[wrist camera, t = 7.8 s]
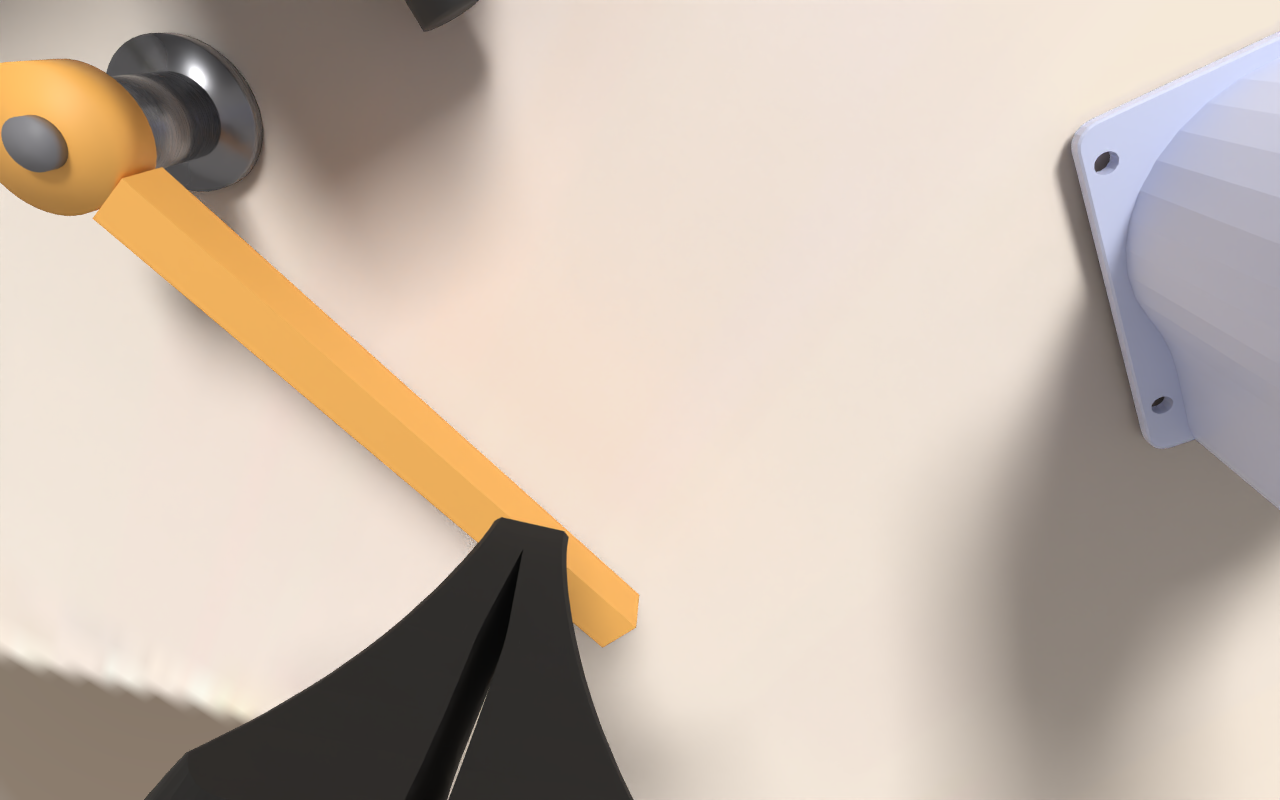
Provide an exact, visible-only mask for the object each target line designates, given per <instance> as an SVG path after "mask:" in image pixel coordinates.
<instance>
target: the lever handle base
mask: <svg viewBox="0 0 1280 800" xmlns="http://www.w3.org/2000/svg"><path fill="white" fill-rule="evenodd" d="M106 74H108V75H109V76H111V77H112V78H114V79H115V80H116V81H117V82H118V83H120V84H121V85H122V86H123V87H124V88H125V89H126V90H127V91H128V92H129V93H130V95H131V96H132V97H133V98H134V99H135V101H136V102H137V103H138V105H139V106H140V108H141V109H142V111H143V113H144V114H145V116H146V118H147V120H148V122H149V125H150V127H151V129H152V133H153V136H154V139H155V144H156V153H157V160H156V168H155V169H157V168H161V167H163V168H164V169H165V170H166V171H167V172H168V173H169V174H170V175H172V176H173V177H174V178H175V179H176V180H177V181H178V182H179V183H180V184H182V185H183V186H184V187H185V188H186V189H187V190H191V191H212V190H217V189H220V188H223V187H226V186H229V185H232V184H234V183H236V182H238V181H240V180H241V179H242V178H244V177H245V176H246V175H247V174H248V173H249V172H250V171H251V170H252V168H253V167H254V165H255V163H256V161H257V159H258V157H259V154H260V150H261V146H262V122H261V116H260V112H259V108H258V105H257V103H256V100H255V98H254V95H253V93H252V91H251V89H250V87H249V86H248V84H247V83H246V81H245V79H244V78H243V77H242V75H241V74H240V73H239V71H238V70H237V69H236V68H235V67H234V66H233V65H232V63H231V62H230V61H229V60H228V59H226V58H225V57H224V56H223V55H222V54H221V53H219V52H218V51H217V50H215V49H214V48H212V47H211V46H209V45H207V44H206V43H204V42H202V41H200V40H198V39H195V38H192V37H190V36H186V35H182V34H176V33H149V34H144V35H140V36H137V37H135V38H132V39H131V40H129V41H127V42H126V43H124V44H123V45H122V46H121V47H120V48H119V49H118V50H117V51H116V53H115V54H114V55H113V57H112V59H111V61H110V63H109V66H108V69H107V73H106Z"/></svg>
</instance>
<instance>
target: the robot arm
mask: <svg viewBox="0 0 1280 800" xmlns="http://www.w3.org/2000/svg"><path fill="white" fill-rule="evenodd" d="M1071 149H1072V155H1073V159H1074V163H1075V167H1076V171H1077V175H1078V179H1079V183H1080V187H1081V191H1082V195H1083V199H1084V203H1085V207H1086V211H1087V215H1088V219H1089V223H1090V227H1091V231H1092V235H1093V239H1094V243H1095V247H1096V251H1097V255H1098V259H1099V263H1100V267H1101V271H1102V275H1103V279H1104V283H1105V287H1106V291H1107V295H1108V299H1109V303H1110V307H1111V311H1112V315H1113V319H1114V323H1115V327H1116V331H1117V335H1118V339H1119V343H1120V347H1121V352H1122V356H1123V360H1124V364H1125V368H1126V372H1127V376H1128V380H1129V384H1130V388H1131V392H1132V396H1133V400H1134V404H1135V408H1136V412H1137V416H1138V420H1139V424H1140V428H1141V432H1142V435H1143V437H1144V438H1145V440H1146V441H1147V442H1148V443H1149V444H1151V445H1152V446H1154V447H1155V448H1161V449H1165V448H1170V447H1174V446H1177V445H1180V444H1183V443H1185V442H1188V441H1191V440H1194V439H1196V440H1197V441H1198V442H1199V443H1200V444H1202V445H1203V446H1204V447H1205V448H1206V449H1208V450H1209V451H1210V452H1211V453H1212V454H1214V455H1215V456H1216V457H1217V458H1218V459H1220V460H1221V461H1222V462H1223V463H1224V464H1225V465H1227V466H1228V467H1229V468H1230V469H1231V470H1233V471H1234V472H1235V473H1236V474H1237V475H1239V476H1240V477H1241V478H1242V479H1243V480H1245V481H1246V482H1247V483H1248V484H1249V485H1250V486H1252V487H1253V488H1254V489H1255V490H1256V491H1258V492H1259V493H1260V494H1261V495H1262V496H1264V497H1265V498H1266V499H1267V500H1268V501H1270V502H1271V503H1272V504H1273V505H1274V506H1275V507H1277V508H1278V509H1279V510H1280V31H1279V32H1277V33H1275V34H1272V35H1270V36H1268V37H1266V38H1264V39H1262V40H1260V41H1257V42H1255V43H1253V44H1251V45H1249V46H1247V47H1245V48H1242V49H1240V50H1238V51H1236V52H1234V53H1232V54H1230V55H1228V56H1225V57H1223V58H1221V59H1219V60H1217V61H1215V62H1213V63H1210V64H1208V65H1206V66H1204V67H1202V68H1200V69H1198V70H1195V71H1193V72H1191V73H1189V74H1187V75H1185V76H1183V77H1180V78H1178V79H1176V80H1174V81H1172V82H1170V83H1168V84H1165V85H1163V86H1161V87H1159V88H1157V89H1155V90H1153V91H1150V92H1148V93H1146V94H1144V95H1142V96H1140V97H1138V98H1136V99H1133V100H1131V101H1129V102H1127V103H1125V104H1123V105H1121V106H1118V107H1116V108H1114V109H1112V110H1110V111H1108V112H1106V113H1103V114H1101V115H1099V116H1097V117H1095V118H1093V119H1091V120H1089V121H1087V122H1086V123H1084V124H1083V125H1081V126H1080V128H1079V129H1078V130H1077V131H1076V133H1075V134H1074V137H1073V139H1072V142H1071ZM1104 152H1109V154H1110V161H1109V163H1108V164H1107V166H1106V167H1105V168H1104V169H1102V170H1101V171H1097V172H1096V171H1095V169H1094V163H1095V161H1096V159H1097V158H1098V156H1100V155H1101V154H1103V153H1104ZM1160 397H1164V399H1163V401H1162V402H1161V403H1160V404H1158V405H1157V406H1153V407H1152V404H1153V402H1154V401H1155V400H1156V399H1158V398H1160ZM568 539H569V537H568V535H567V534H566V533H565V531H561V530H557V529H553V528H548V527H544V526H539V525H535V524H530V523H526V522H521V521H517V520H513V519H508V518H504V517H501V518H499V519H497V520H495V521H494V522H493V524H492V525H491V527H490V528H489V530H488V531H487V532H486V534H485V535H484V536H483V538H482V539H481V540H480V541H479V543H478V544H477V545H476V546H475V547H474V549H473V550H472V551H471V552H470V553H469V554H468V555H467V556H466V558H465V559H464V560H463V561H462V562H461V563H460V564H459V565H458V566H457V567H456V568H455V569H454V570H453V572H452V573H451V574H450V575H449V576H448V577H447V578H446V579H445V580H444V581H443V582H442V583H441V584H440V585H439V586H438V587H437V588H436V589H435V590H434V591H433V592H432V593H431V594H430V595H428V596H427V597H426V598H425V599H424V600H423V601H422V602H421V603H420V604H419V605H418V606H416V607H415V608H414V609H413V610H412V611H411V612H410V613H409V614H408V615H407V616H405V617H404V618H403V619H402V620H401V621H400V622H398V623H397V624H396V625H395V626H394V627H392V628H391V629H390V630H389V631H388V632H386V633H385V634H384V635H383V636H381V637H380V638H379V639H377V640H376V641H375V642H374V643H372V644H371V645H370V646H368V647H367V648H366V649H364V650H363V651H362V652H360V653H359V654H357V655H356V656H355V657H353V658H352V659H350V660H349V661H347V662H346V663H345V664H343V665H342V666H340V667H339V668H337V669H336V670H335V671H333V672H332V673H330V674H329V675H327V676H326V677H324V678H323V679H321V680H320V681H318V682H316V683H315V684H313V685H312V686H310V687H308V688H307V689H305V690H303V691H302V692H300V693H298V694H296V695H295V696H293V697H291V698H290V699H288V700H286V701H285V702H283V703H281V704H279V705H278V706H276V707H274V708H273V709H271V710H269V711H268V712H266V713H264V714H262V715H260V716H259V717H257V718H255V719H253V720H251V721H249V722H247V723H245V724H243V725H241V726H240V727H237V728H235V729H233V730H231V731H229V732H227V733H225V734H223V735H221V736H219V737H217V738H215V739H213V740H211V741H209V742H208V743H206V744H203V745H201V746H199V747H197V748H195V749H193V750H191V751H189V752H187V753H185V755H184V756H183V757H182V758H181V759H180V760H179V761H178V762H177V763H176V764H175V765H174V766H173V767H172V768H171V769H170V771H169V772H168V773H167V774H166V775H165V776H164V777H163V778H162V780H161V781H160V782H159V783H158V784H157V786H156V787H155V788H154V789H153V790H152V791H151V792H150V793H149V794H148V796H147V797H146V798H145V799H144V800H447V798H448V795H449V792H450V788H451V785H452V782H453V779H454V776H455V774H456V771H457V768H458V765H459V762H460V760H461V757H462V754H463V752H464V749H465V747H466V744H467V742H468V740H469V737H470V735H471V732H472V730H473V727H474V725H475V722H476V720H477V717H478V715H479V712H480V710H481V707H482V705H483V702H484V700H485V702H484V705H483V707H482V710H481V713H480V716H479V719H478V722H477V725H476V727H475V730H474V733H473V736H472V738H471V741H470V744H469V747H468V749H467V752H466V755H465V758H464V760H463V763H462V766H461V769H460V771H459V774H458V776H457V779H456V782H455V784H454V787H453V789H452V792H451V795H450V797H449V800H633V798H632V796H631V794H630V792H629V790H628V788H627V786H626V783H625V781H624V779H623V777H622V775H621V773H620V771H619V768H618V766H617V764H616V761H615V759H614V756H613V754H612V752H611V749H610V747H609V744H608V742H607V740H606V737H605V735H604V732H603V730H602V727H601V725H600V722H599V719H598V716H597V713H596V710H595V707H594V704H593V701H592V698H591V695H590V692H589V688H588V685H587V682H586V678H585V675H584V671H583V667H582V663H581V659H580V655H579V651H578V646H577V642H576V637H575V632H574V627H573V621H572V614H571V607H570V601H569V593H568V582H567V545H568ZM487 692H488V693H487ZM486 695H487V696H486ZM485 697H486V699H485Z"/></svg>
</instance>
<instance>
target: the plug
mask: <svg viewBox="0 0 1280 800" xmlns="http://www.w3.org/2000/svg"><path fill="white" fill-rule="evenodd" d="M405 1H406V3H407V4H408V6H409V8H410V9H411V11H412V13H413V15H414V16H415V18H416V20H417V21H418V23H419V25H420V26H421V28H422V30H423V31H429V30H432V29H435V28H437V27H439V26H441V25H443V24H445V23H447V22H449V21H451V20H452V19H454V18H456V17H457V16H459V15H460V14H462V13H463V12H465V11H466V10H468V9H469V8H470V7H472V6H473V5H474V4H475V3H476V2H477V1H478V0H405Z"/></svg>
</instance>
